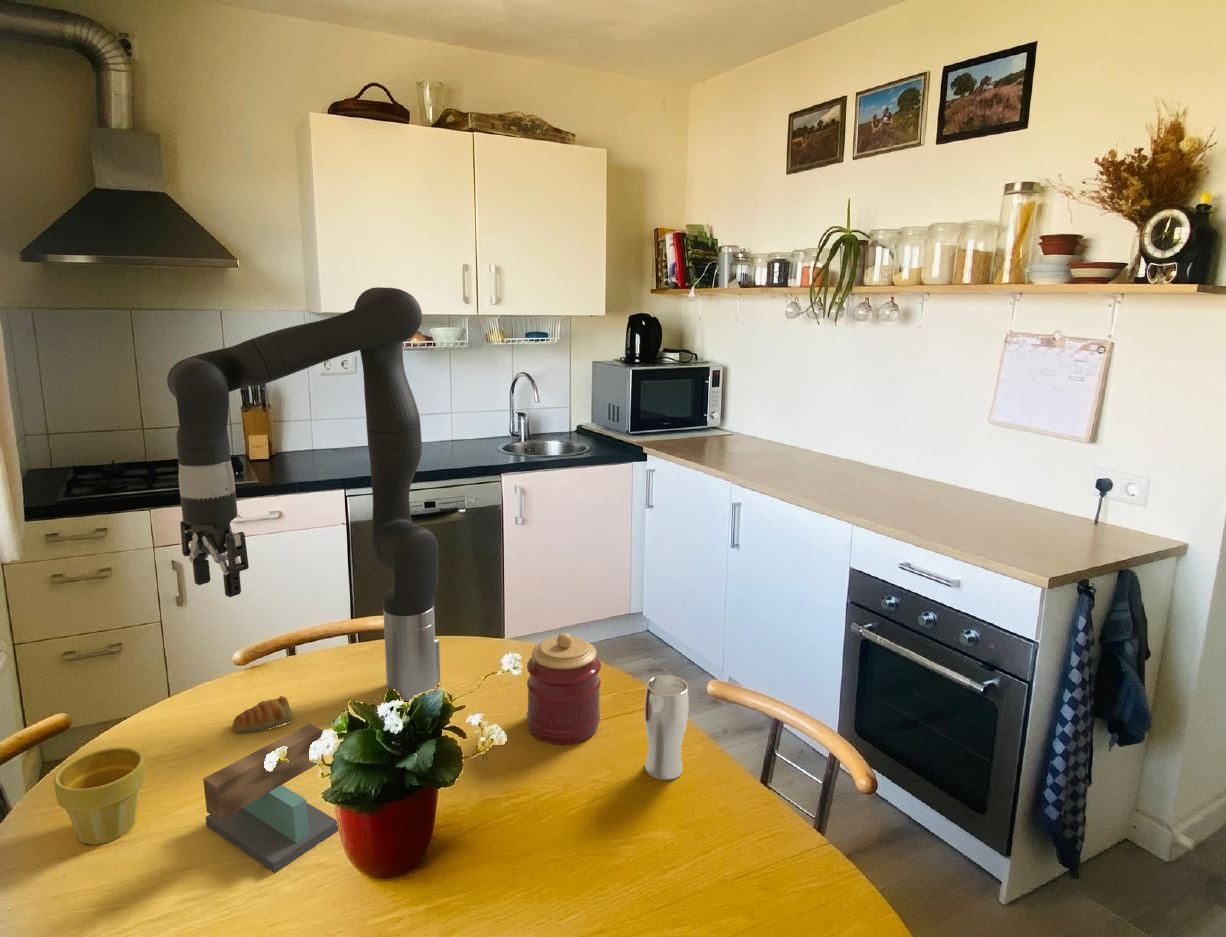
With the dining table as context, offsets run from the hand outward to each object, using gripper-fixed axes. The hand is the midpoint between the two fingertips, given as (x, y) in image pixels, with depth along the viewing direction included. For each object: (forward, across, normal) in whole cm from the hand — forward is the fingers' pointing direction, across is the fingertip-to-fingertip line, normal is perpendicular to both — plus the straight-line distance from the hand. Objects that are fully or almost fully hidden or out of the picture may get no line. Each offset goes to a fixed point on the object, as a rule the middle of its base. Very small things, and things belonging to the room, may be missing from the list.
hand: (217, 589), depth 120 cm
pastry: (+29, +2, -8) cm, 30 cm away
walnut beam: (+21, -23, +8) cm, 32 cm away
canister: (+28, -41, -37) cm, 62 cm away
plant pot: (+28, -4, +21) cm, 35 cm away
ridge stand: (+28, -23, +8) cm, 37 cm away
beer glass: (+28, -62, -36) cm, 77 cm away
